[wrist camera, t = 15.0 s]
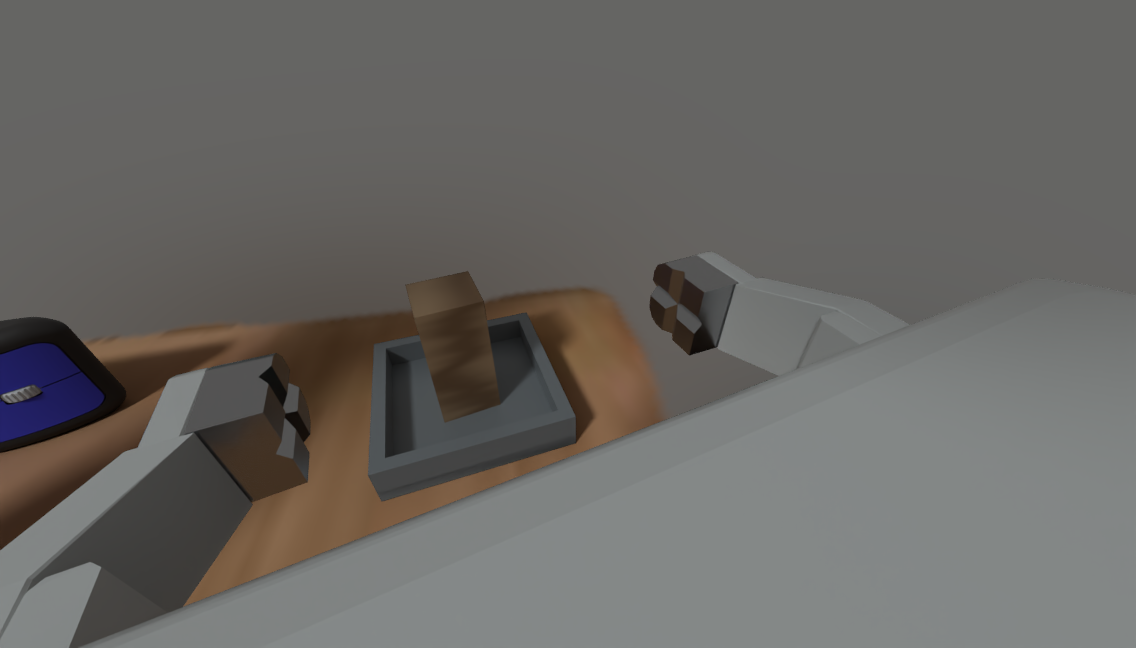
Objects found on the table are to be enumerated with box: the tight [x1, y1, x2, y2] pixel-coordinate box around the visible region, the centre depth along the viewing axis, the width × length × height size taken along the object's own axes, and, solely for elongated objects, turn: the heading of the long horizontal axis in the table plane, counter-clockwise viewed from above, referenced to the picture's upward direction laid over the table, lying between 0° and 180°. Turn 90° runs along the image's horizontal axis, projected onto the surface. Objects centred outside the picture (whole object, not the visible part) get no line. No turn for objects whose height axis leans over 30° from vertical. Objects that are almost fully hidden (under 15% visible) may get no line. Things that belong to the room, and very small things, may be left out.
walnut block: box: [406, 271, 501, 423], centre depth 32 cm, size 4×4×10 cm
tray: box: [368, 313, 576, 501], centre depth 34 cm, size 14×14×3 cm
